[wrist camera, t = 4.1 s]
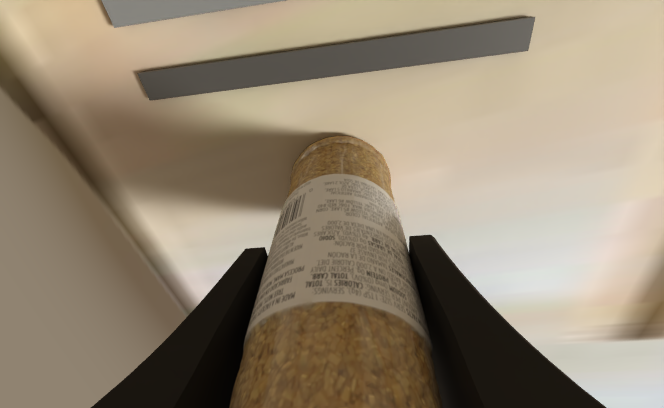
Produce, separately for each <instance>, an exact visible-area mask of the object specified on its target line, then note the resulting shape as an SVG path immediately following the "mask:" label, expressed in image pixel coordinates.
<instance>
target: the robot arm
mask: <svg viewBox="0 0 664 408" xmlns="http://www.w3.org/2000/svg"><path fill="white" fill-rule="evenodd" d="M409 256H410V260H411V264H412V268H413V272H414V276H415V280H416V284H417V287H418V291H419V295H420V299H421V303H422V307H423V311H424V315H425V319H426V323H427V327H428V331H429V335H430V339H431V343H432V355H431V356H432V360H433V363H434V370H435V376H436V381H437V384H438V387H439V393H440V396H441V400H442V408H606V407H605V406H604V405H602V404H601V403H600V402H599V401H597V400H596V399H595V398H593V397H592V396H591V395H590V394H588V393H587V392H586V391H585V390H583V389H582V388H581V387H580V386H578V385H577V384H576V383H575V382H574V381H572V380H571V379H570V378H569V377H568V376H567V375H565V374H564V373H563V372H562V371H561V370H560V369H558V368H557V367H556V366H555V365H554V364H552V363H551V362H550V361H549V360H548V359H547V358H546V357H545V356H543V355H542V354H541V353H540V352H539V351H538V350H537V349H536V348H535V347H533V346H532V345H531V344H530V343H529V342H528V341H527V340H526V339H525V338H524V337H523V336H522V335H520V334H519V333H518V332H517V331H516V330H515V329H514V328H513V327H512V326H511V325H510V324H509V323H508V322H507V321H506V320H505V319H504V318H503V317H502V316H501V315H500V314H499V313H498V312H497V311H496V310H495V309H494V308H493V307H492V306H491V305H490V304H489V303H488V301H487V300H486V299H485V298H484V297H483V296H482V295H481V294H480V293H479V292H478V291H477V289H476V288H475V287H474V286H473V285H472V284H471V283H470V282H469V281H468V279H467V278H466V277H465V276H464V275H463V274H462V272H461V271H460V270H459V269H458V268H457V266H456V265H455V264H454V263H453V262H452V260H451V259H450V258H449V257H448V255H447V254H446V253H445V251H444V250H443V249H442V248H441V246H440V245H439V244H438V242H437V241H436V239H435V238H434V237H433V236H432V235H421V236H409ZM267 259H268V256H267V253H266V250H265V247H263V248H249V249H245V250H244V251H243V253H242V254H241V255H240V256H239V257H238V258H237V260H236V261H235V262H234V263H233V264H232V266H231V267H230V268H229V269H228V270H227V272H226V273H225V274H224V275H223V277H222V278H221V279H220V280H219V281H218V283H217V284H216V285H215V286H214V287H213V288H212V290H211V291H210V292H209V293H208V294H207V295H206V297H205V298H204V299H203V300H202V301H201V302H200V303H199V305H198V306H197V307H196V308H195V309H194V310H193V311H192V312H191V313H190V315H189V316H188V317H187V318H186V319H185V320H184V321H183V322H182V323H181V324H180V325H179V326H178V328H177V329H176V330H175V331H174V332H173V333H172V334H171V335H170V336H169V337H168V338H167V339H166V340H165V341H164V342H163V343H162V344H161V345H160V346H159V347H158V348H157V349H156V350H155V351H154V352H153V353H152V354H151V355H150V356H149V357H148V358H147V359H146V360H145V361H143V362H142V363H141V364H140V365H139V366H138V367H137V368H136V369H135V370H134V371H133V372H132V373H131V374H130V375H128V376H127V377H126V378H125V379H124V380H123V381H122V382H121V383H119V384H118V385H117V386H116V387H115V388H113V389H112V390H111V391H110V392H109V393H108V394H107V395H105V396H104V397H103V398H102V399H101V400H99V401H98V402H97V403H96V404H95V405H94V406H92V407H91V408H229V407H230V400H231V396H232V391H233V387H234V384H235V381H236V377H237V374H238V371H239V369H240V363H241V360H242V356H243V346H244V340H245V336H246V333H247V329H248V326H249V322H250V319H251V315H252V312H253V308H254V305H255V301H256V298H257V294H258V291H259V287H260V283H261V280H262V276H263V273H264V269H265V265H266V262H267Z"/></svg>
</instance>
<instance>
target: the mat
mask: <svg viewBox="0 0 664 408" xmlns="http://www.w3.org/2000/svg"><path fill="white" fill-rule="evenodd" d="M279 1H285V0H102V3H103V5H104V7H105V9H106V11H107V13H108V15H109V18H110V20H111V22H112V24H113V26H114V28H116V27H123V26H129V25H135V24H141V23H148V22H154V21H160V20H166V19H173V18H179V17H185V16H191V15H198V14H204V13H210V12H217V11H223V10H229V9H235V8H242V7H248V6H254V5H260V4H267V3H273V2H279Z"/></svg>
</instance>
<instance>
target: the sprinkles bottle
mask: <svg viewBox="0 0 664 408" xmlns="http://www.w3.org/2000/svg"><path fill="white" fill-rule="evenodd" d="M431 355H432V343H431V339H430V335H429V331H428V327H427V323H426V319H425V315H424V311H423V307H422V303H421V299H420V295H419V291H418V287H417V284H416V280H415V276H414V272H413V268H412V264H411V260H410V256H409V252H408V247H407V243H406V239H405V235H404V232H403V228H402V224H401V220H400V216H399V212H398V209H397V207H396V205H395V203H394V198H393V195H392V191H391V177H390V171H389V168H388V166H387V164H386V162H385V159H384V157H383V155H382V154H380V153H379V152H378V151H377V150H376V149H375V148H374V147H373V146H371V145H370V144H368V143H366V142H364V141H363V140H360V139H357V138H353V137H350V136H335V137H330V138H325V139H322V140H320V141H317V142H315V143H313V144H311V145H310V146H308V147H307V148H306V150H305V151H303V152H302V153H301V154H300V156H299V158H298V159H297V161H296V162H295V164H294V166H293V169H292V174H291V186H290V191H289V194H288V197H287V200H286V201H285V203H284V205H283V208H282V211H281V214H280V218H279V221H278V225H277V228H276V231H275V234H274V238H273V241H272V245H271V248H270V252H269V255H268V259H267V262H266V265H265V269H264V273H263V276H262V280H261V283H260V287H259V291H258V294H257V298H256V301H255V305H254V308H253V312H252V315H251V319H250V322H249V326H248V329H247V333H246V336H245V340H244V346H243V356H242V360H241V363H240V369H239V371H238V374H237V377H236V381H235V384H234V387H233V391H232V396H231V400H230V407H229V408H442V400H441V396H440V393H439V387H438V384H437V381H436V376H435V370H434V363H433V360H432V356H431Z"/></svg>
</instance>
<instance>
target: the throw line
mask: <svg viewBox="0 0 664 408" xmlns="http://www.w3.org/2000/svg"><path fill="white" fill-rule="evenodd" d="M534 21H535V17H531V16H530V17H523V18H516V19H509V20H502V21H495V22H488V23H481V24H474V25H467V26H460V27H453V28H446V29H439V30H432V31H425V32H418V33H411V34H404V35H397V36H390V37H383V38H376V39H369V40H362V41H355V42H348V43H341V44H334V45H327V46H319V47H312V48H305V49H298V50H291V51H284V52H277V53H270V54H263V55H256V56H249V57H242V58H235V59H228V60H221V61H214V62H207V63H200V64H193V65H186V66H179V67H172V68H165V69H158V70H151V71H144V72H140V73H137V74H138V76H139V78H140V80H141V83H142V85H143V87H144V89H145V91H146V93H147V96H148V98H149V100H158V99H165V98H173V97H181V96H188V95H196V94H203V93H211V92H219V91H226V90H234V89H242V88H249V87H257V86H264V85H272V84H280V83H287V82H295V81H302V80H310V79H318V78H325V77H333V76H340V75H348V74H356V73H363V72H371V71H378V70H386V69H394V68H401V67H409V66H416V65H424V64H432V63H439V62H447V61H455V60H462V59H470V58H477V57H485V56H493V55H500V54H508V53H515V52H523V51H528V49H529V44H530V40H531V35H532V30H533V25H534Z"/></svg>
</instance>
